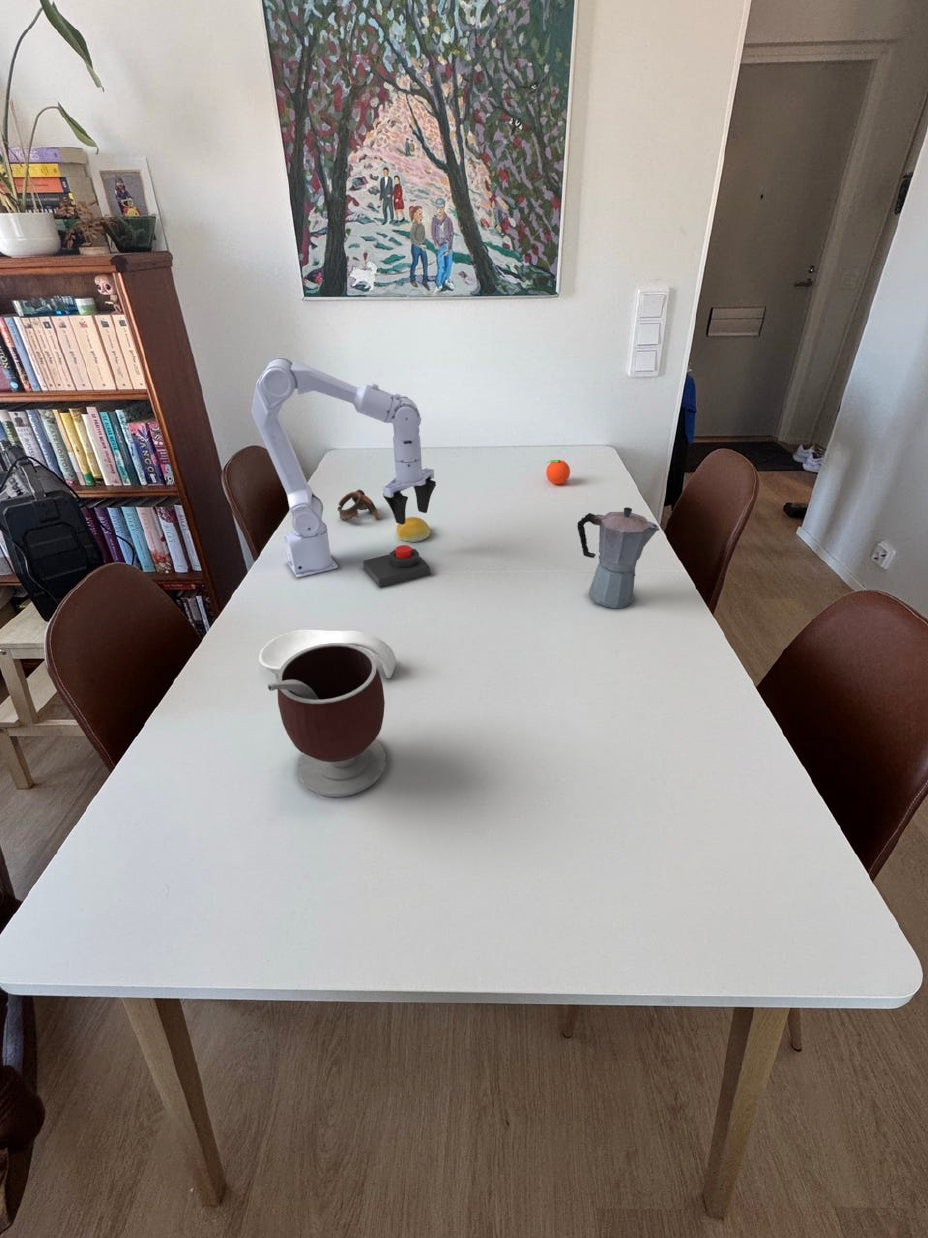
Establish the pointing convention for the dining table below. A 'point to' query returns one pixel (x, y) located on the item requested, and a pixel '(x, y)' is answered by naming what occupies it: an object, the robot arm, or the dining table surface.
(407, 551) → the power button
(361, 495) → the brown looped frame
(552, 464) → the clementine
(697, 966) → the dining table surface
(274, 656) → the spoon rest
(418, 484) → the robot arm
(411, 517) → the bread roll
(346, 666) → the mate gourd
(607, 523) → the moka pot
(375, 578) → the push button base
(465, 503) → the dining table surface
